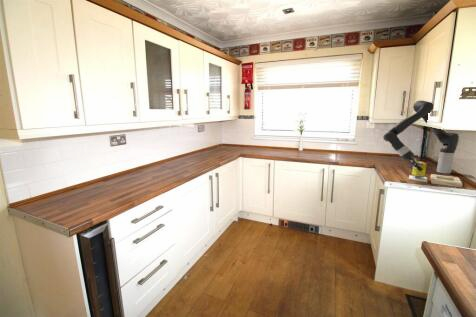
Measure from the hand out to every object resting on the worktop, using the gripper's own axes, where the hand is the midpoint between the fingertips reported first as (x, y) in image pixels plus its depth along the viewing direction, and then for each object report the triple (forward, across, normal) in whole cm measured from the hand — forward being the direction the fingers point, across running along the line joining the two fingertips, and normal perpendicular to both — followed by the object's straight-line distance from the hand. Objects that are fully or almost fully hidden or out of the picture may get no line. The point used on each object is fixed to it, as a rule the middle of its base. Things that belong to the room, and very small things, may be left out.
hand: (421, 169), depth 177 cm
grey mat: (+5, 0, +6) cm, 8 cm away
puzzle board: (+16, +3, -5) cm, 17 cm away
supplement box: (+3, 0, +5) cm, 6 cm away
